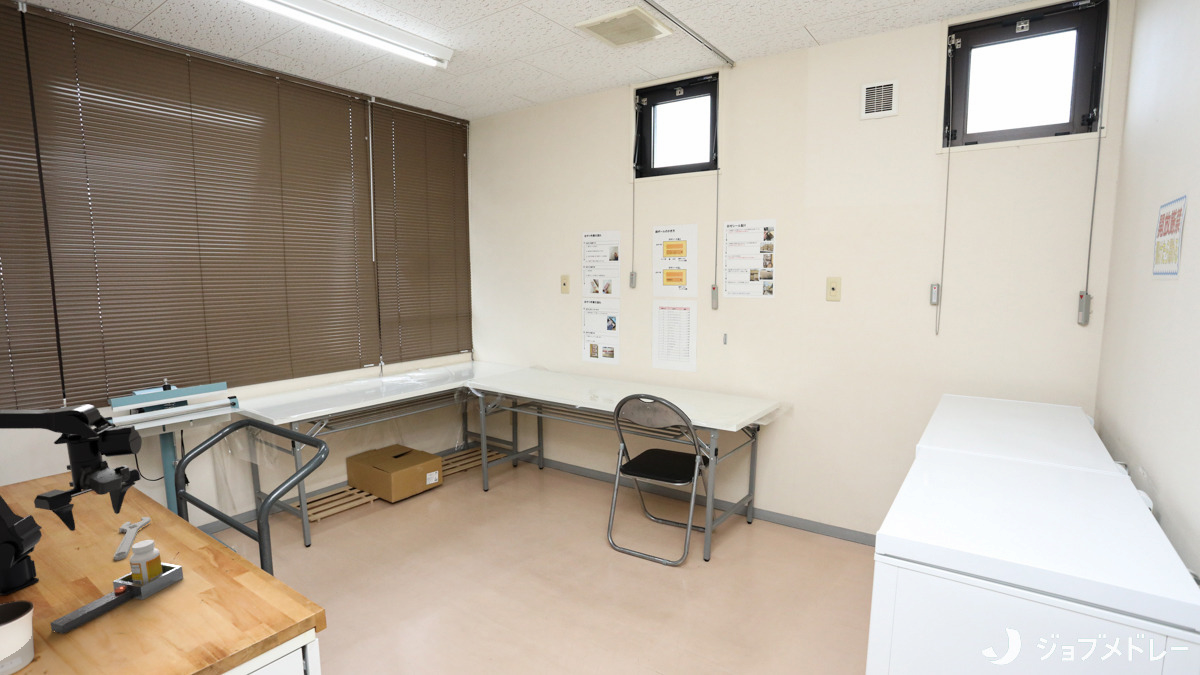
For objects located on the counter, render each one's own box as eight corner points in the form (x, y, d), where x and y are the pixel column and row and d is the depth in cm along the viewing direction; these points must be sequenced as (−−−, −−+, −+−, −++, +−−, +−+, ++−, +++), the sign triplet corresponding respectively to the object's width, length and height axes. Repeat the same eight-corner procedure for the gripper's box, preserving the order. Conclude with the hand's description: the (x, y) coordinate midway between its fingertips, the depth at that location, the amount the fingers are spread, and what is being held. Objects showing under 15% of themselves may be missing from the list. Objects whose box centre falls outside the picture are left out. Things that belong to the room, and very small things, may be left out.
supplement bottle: (165, 574, 134) (159, 535, 132) (161, 585, 129) (155, 545, 128) (136, 581, 131) (130, 542, 130) (131, 592, 126) (125, 552, 125)
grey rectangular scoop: (72, 637, 112) (70, 623, 112) (43, 629, 115) (40, 615, 115) (183, 578, 133) (181, 566, 133) (156, 572, 136) (154, 561, 135)
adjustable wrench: (127, 560, 143) (126, 553, 143) (94, 567, 140) (93, 560, 140) (153, 520, 166) (152, 515, 165) (125, 525, 163) (124, 520, 162)
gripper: (60, 476, 121) (71, 544, 123) (152, 448, 139) (160, 508, 141) (27, 472, 125) (38, 538, 127) (120, 445, 142) (129, 504, 145)
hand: (95, 521), depth 135 cm, fingers open, 9 cm apart
